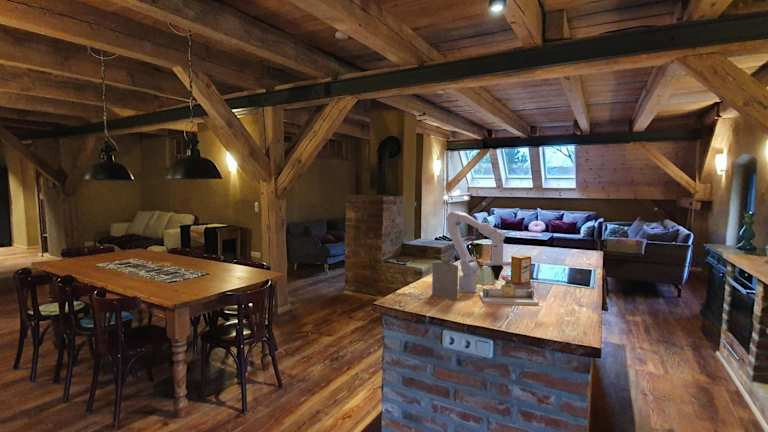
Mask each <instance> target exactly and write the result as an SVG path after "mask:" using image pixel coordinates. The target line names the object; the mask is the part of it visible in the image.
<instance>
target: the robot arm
mask: <svg viewBox="0 0 768 432" xmlns="http://www.w3.org/2000/svg"><path fill="white" fill-rule="evenodd" d="M445 220H446V224H447V227H446V229H447V232H448V235H449V237H450V239H451V241H452V243H453V246H454V247H455V250H456V252H457V254H458V257H459V259H460V260H459V261H460V262H459V263H460V268H461V269H460V270H461V273H462V274H461V273H458V290H459V293H479V290H478V288H477V281H478V280H477V278H478V276H477V273H478V271H479V268H480V267H479V266H480V265H479V263H478V262H477V261H475V258H474V257H473V256H471V254H470V253H469V251H468V248H467V246H466V244H465V242H464V240H463V238H462V235H461V233H460V231H459V228H460V226H461V224H462V223H466V224H468V225H471V227H475V228H476V229H478V233H481V234H482V235H483V236H485V237H487V238H489V239H490V241H491V260H490V261H483V262H482V266H483V267H490V268H491V271H492V274H493V277H494V281H499V279H500V277H501V275H502V272H503V270H504V266H505V267H511V261H505V260H504V240H505V238H506V233H505V232H504V231H503V230H502V229H498V228H497V227H493V226H491V224H490V223H488V222H483V223H482V222H480V221H479V220H477V219H475V218H474V217H472V216H471V215H469V214H467V213H466V212H463V211H462V210H458V211H450V212H449V213H448V214H447V217H446V219H445Z"/></svg>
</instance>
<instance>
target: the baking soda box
mask: <svg viewBox="0 0 768 432" xmlns="http://www.w3.org/2000/svg"><path fill="white" fill-rule="evenodd" d="M510 257H511V258H510V259H511V260H510V262H511V266H510V280H511V284H514V283H515V285H518V286H521V285H526V284H530V283H531V276H532V275H531V274H532V256H531V255H525V254H517V255H512V256H510Z"/></svg>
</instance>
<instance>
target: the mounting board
mask: <svg viewBox="0 0 768 432" xmlns="http://www.w3.org/2000/svg"><path fill="white" fill-rule="evenodd" d="M478 294H479V295H478V296H479V298H480V299H481V302H482V303H483V304H484V305H485V304H486V305H487V304H489V305H515V306H516V305H517V306H518V305H520V306H522V305H524V306H539V305H540V304H539V303H540V302H539V301H538V300H537V299H536V298H535V297H534V299H531V298H519V297H484V296H483V291H482V292H481V291H480V292H479V291H478Z"/></svg>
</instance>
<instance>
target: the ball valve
mask: <svg viewBox="0 0 768 432" xmlns="http://www.w3.org/2000/svg"><path fill="white" fill-rule="evenodd" d="M482 292H483V296H484V297H519V298H531V299H534V298H535V291H534V288H529V289H525V288H524V289H523V288H522V289H519V288H516V285H513V283H510V284H508V283H506V282H504V284H501V286H500V288H487V287H486V286H483V287H482Z"/></svg>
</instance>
